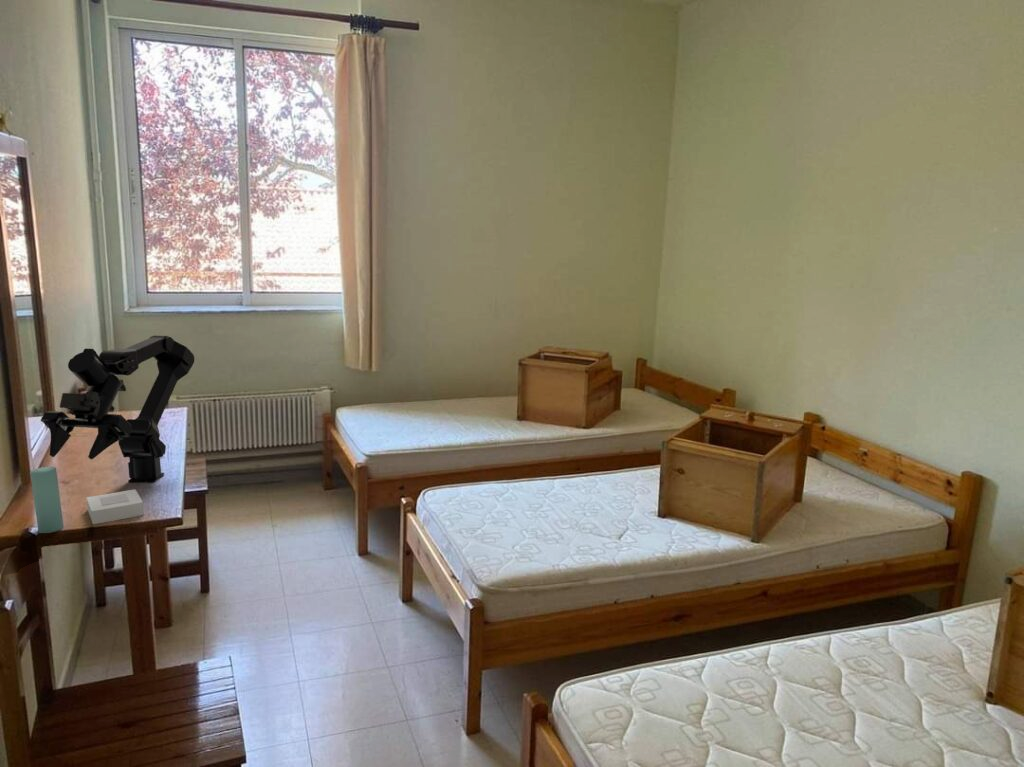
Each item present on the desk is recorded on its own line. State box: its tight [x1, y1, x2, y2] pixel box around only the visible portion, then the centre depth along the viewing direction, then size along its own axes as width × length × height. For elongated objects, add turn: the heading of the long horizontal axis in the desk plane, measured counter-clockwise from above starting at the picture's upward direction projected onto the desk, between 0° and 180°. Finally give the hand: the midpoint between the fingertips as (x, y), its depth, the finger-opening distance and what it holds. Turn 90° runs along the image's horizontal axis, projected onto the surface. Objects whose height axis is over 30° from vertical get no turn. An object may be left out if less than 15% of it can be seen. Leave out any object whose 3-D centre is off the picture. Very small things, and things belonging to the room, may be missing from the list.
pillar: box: [29, 466, 64, 534], centre depth 154 cm, size 5×5×13 cm
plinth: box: [85, 489, 145, 525], centre depth 164 cm, size 10×10×3 cm
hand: (70, 457), depth 160 cm, fingers open, 9 cm apart
